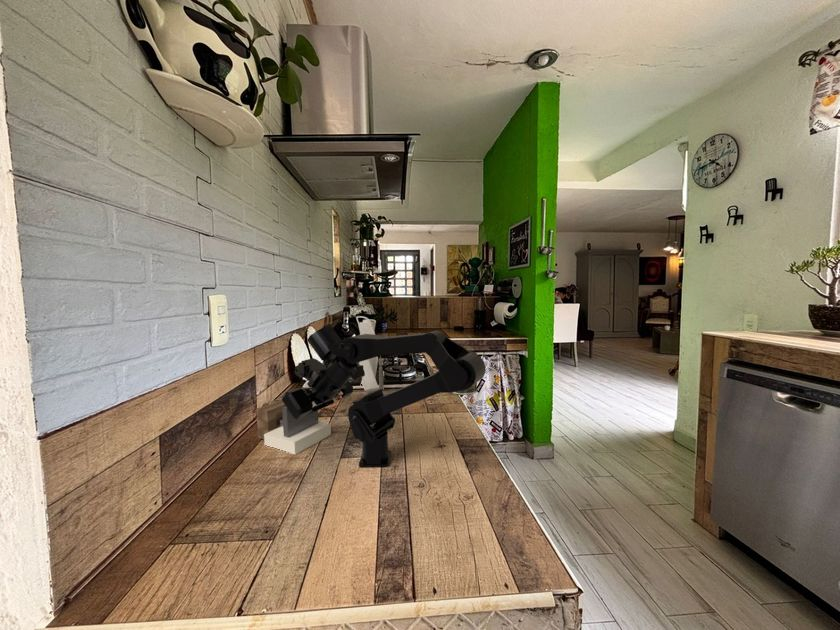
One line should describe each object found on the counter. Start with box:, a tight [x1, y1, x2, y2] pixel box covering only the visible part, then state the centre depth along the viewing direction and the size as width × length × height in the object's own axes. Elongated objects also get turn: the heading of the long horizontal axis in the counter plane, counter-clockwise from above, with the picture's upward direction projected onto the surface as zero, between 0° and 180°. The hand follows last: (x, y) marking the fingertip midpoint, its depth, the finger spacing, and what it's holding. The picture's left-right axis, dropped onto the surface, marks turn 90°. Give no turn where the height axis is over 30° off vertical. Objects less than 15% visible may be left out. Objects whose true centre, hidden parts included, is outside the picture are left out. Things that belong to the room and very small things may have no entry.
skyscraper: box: [355, 315, 385, 393], centre depth 131 cm, size 8×8×28 cm
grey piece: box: [280, 406, 319, 437], centre depth 88 cm, size 8×10×7 cm
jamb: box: [256, 399, 286, 439], centre depth 92 cm, size 4×8×8 cm, turn 152°
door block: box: [263, 420, 332, 456], centre depth 88 cm, size 10×12×3 cm
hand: (304, 413), depth 86 cm, fingers closed, pressing on grey piece
